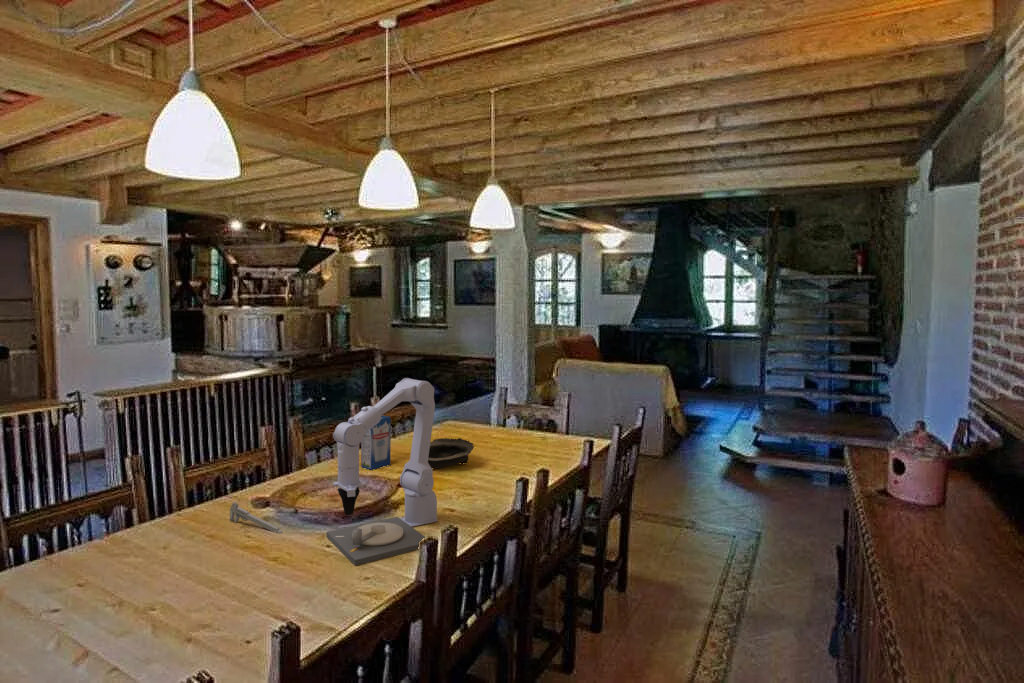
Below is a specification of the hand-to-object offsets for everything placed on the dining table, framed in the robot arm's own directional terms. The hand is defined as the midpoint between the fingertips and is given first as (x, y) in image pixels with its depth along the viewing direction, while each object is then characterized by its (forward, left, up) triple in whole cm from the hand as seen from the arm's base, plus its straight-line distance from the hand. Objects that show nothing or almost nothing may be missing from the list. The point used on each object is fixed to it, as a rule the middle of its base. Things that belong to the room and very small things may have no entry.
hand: (348, 514), depth 167 cm
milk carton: (-36, -67, -9) cm, 77 cm away
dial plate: (-7, +3, -9) cm, 12 cm away
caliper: (+19, -27, -9) cm, 34 cm away
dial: (-6, +4, -7) cm, 10 cm away
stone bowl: (-60, -54, -9) cm, 82 cm away
